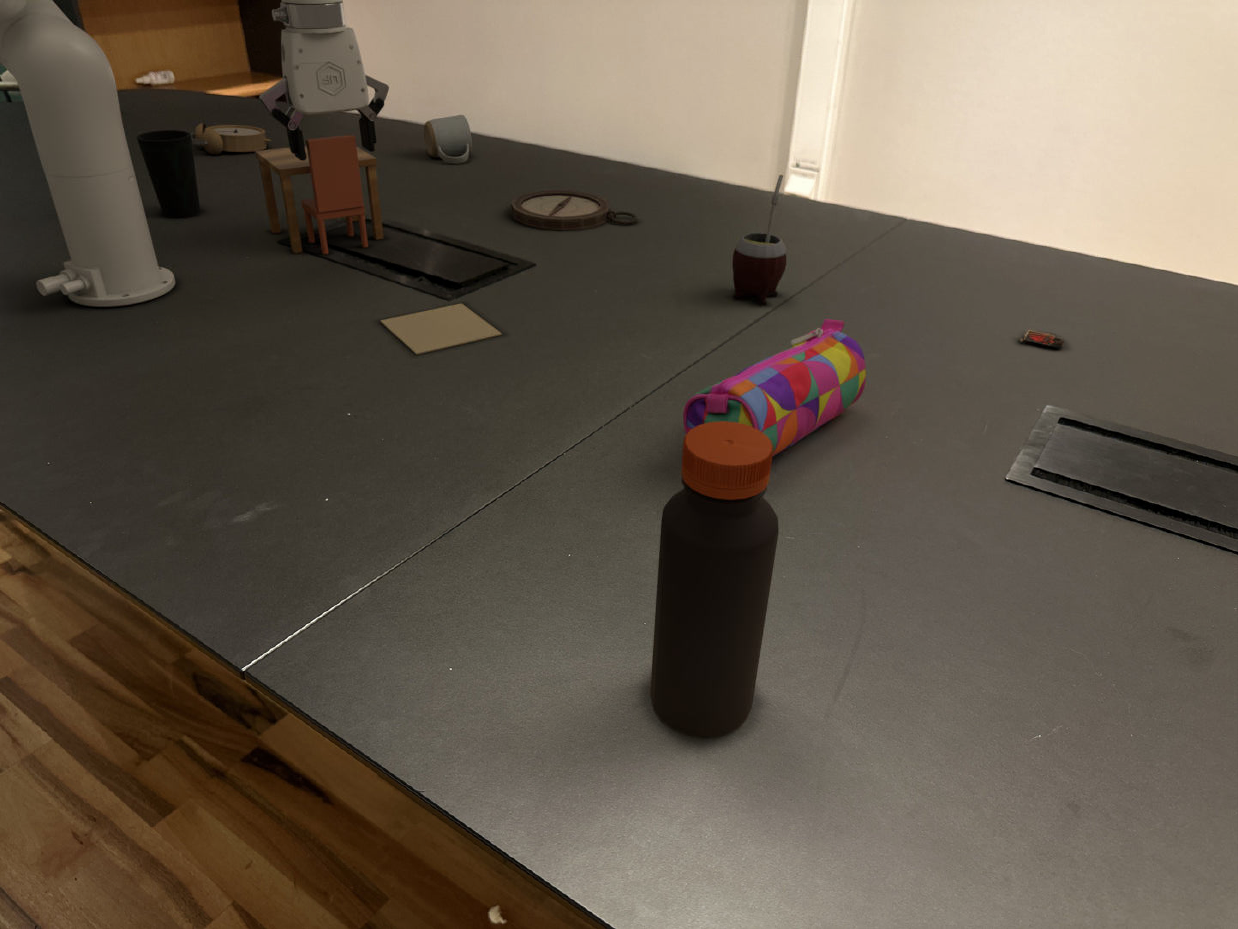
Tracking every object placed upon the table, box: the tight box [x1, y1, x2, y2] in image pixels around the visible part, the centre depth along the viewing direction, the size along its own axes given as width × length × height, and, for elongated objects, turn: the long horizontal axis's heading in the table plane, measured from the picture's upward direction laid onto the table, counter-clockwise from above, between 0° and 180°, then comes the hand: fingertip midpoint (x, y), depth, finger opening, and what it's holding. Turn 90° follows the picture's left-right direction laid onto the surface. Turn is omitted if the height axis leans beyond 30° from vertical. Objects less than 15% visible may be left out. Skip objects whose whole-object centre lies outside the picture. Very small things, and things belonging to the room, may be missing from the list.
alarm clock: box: [190, 123, 272, 155], centre depth 180 cm, size 11×5×15 cm
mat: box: [379, 303, 502, 356], centre depth 110 cm, size 11×11×1 cm
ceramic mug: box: [423, 114, 473, 165], centre depth 178 cm, size 11×8×8 cm
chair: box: [301, 134, 369, 255], centre depth 130 cm, size 7×7×16 cm
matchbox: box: [1019, 329, 1065, 349], centre depth 111 cm, size 5×5×1 cm
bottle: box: [649, 421, 779, 739], centre depth 54 cm, size 7×7×20 cm
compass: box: [510, 189, 638, 231], centre depth 149 cm, size 20×16×2 cm
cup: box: [136, 129, 201, 219], centre depth 142 cm, size 8×8×12 cm
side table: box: [254, 145, 384, 254], centre depth 135 cm, size 12×14×12 cm
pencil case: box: [682, 318, 867, 458], centre depth 88 cm, size 22×9×9 cm, turn 141°
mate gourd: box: [731, 174, 787, 306], centre depth 118 cm, size 8×8×15 cm
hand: (335, 153), depth 125 cm, fingers open, 9 cm apart
